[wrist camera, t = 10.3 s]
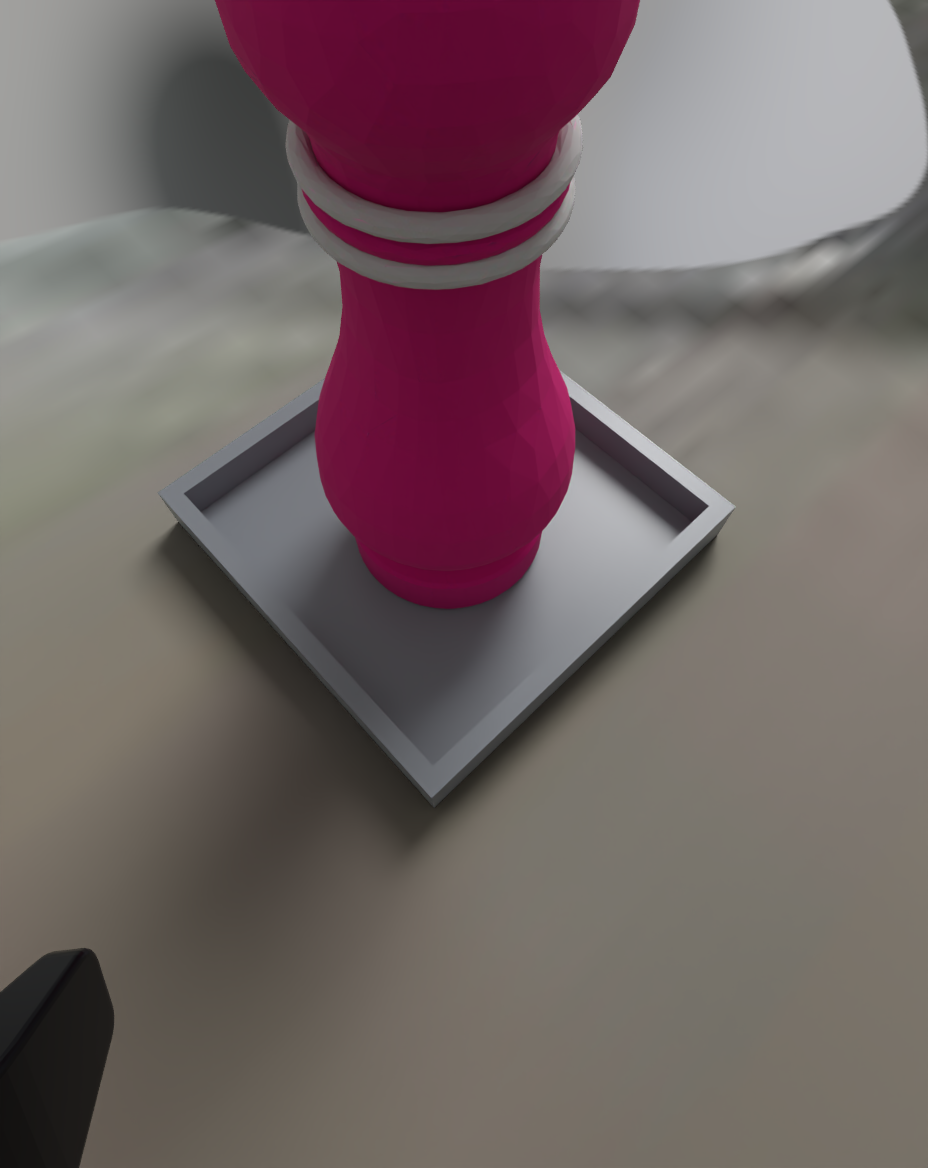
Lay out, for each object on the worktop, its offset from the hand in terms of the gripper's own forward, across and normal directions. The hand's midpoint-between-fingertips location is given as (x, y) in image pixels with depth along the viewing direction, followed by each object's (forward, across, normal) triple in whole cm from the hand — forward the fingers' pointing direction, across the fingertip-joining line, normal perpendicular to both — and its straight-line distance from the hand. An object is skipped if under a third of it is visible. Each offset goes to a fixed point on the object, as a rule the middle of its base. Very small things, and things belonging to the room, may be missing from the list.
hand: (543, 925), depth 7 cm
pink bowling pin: (+18, 0, 0) cm, 18 cm away
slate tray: (+18, 0, 0) cm, 18 cm away
